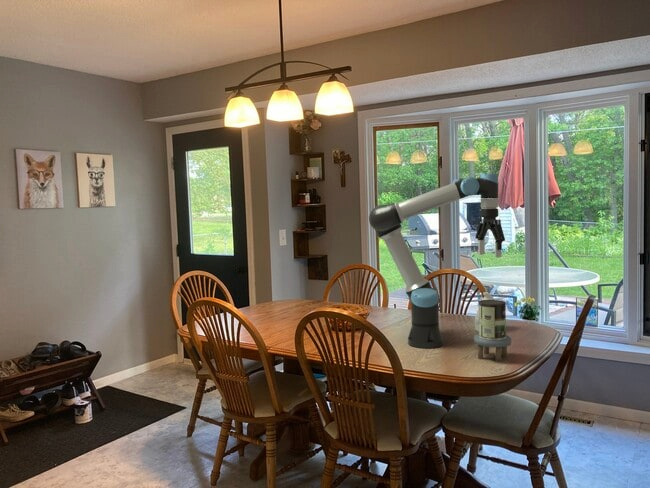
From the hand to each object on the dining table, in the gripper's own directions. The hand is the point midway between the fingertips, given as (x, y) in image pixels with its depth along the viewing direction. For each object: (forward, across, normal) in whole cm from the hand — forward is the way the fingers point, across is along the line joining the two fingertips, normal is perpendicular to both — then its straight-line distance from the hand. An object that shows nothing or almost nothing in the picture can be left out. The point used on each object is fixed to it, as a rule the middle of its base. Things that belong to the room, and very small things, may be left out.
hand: (489, 255), depth 237 cm
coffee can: (+29, -28, +16) cm, 43 cm away
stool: (+37, -28, +16) cm, 49 cm away
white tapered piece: (+37, +12, -7) cm, 40 cm away
